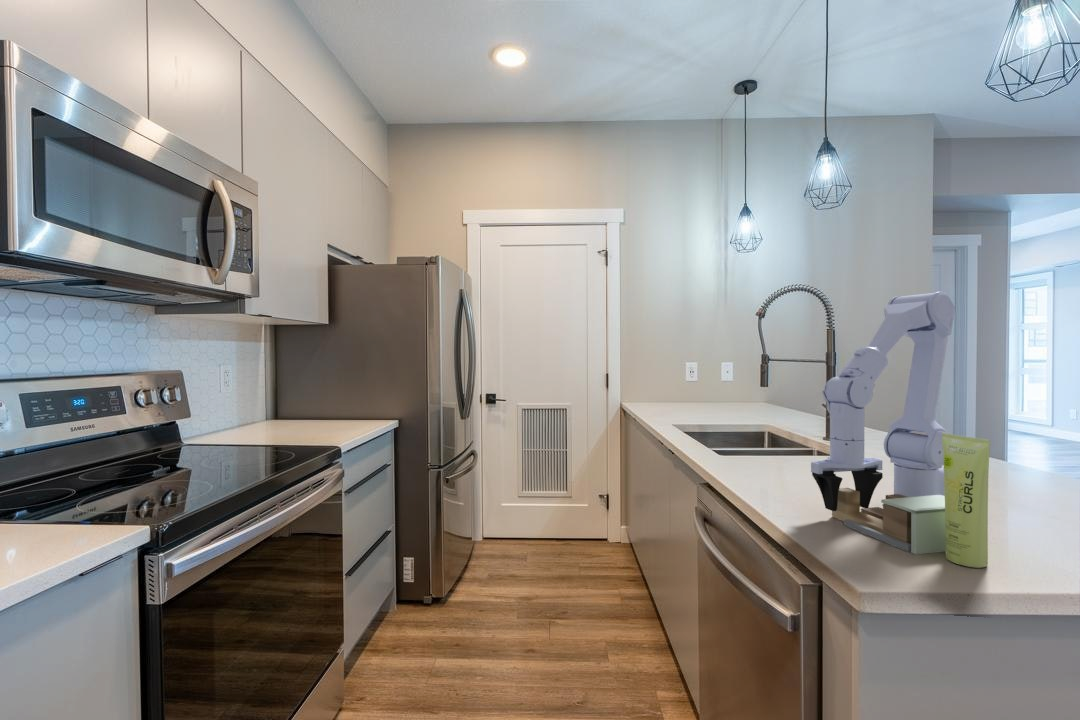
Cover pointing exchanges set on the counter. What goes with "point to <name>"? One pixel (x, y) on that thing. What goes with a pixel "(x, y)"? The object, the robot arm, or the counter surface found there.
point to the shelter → (924, 521)
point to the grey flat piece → (878, 535)
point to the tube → (966, 499)
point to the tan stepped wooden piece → (858, 512)
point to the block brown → (878, 511)
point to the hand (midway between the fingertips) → (846, 508)
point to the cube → (897, 521)
